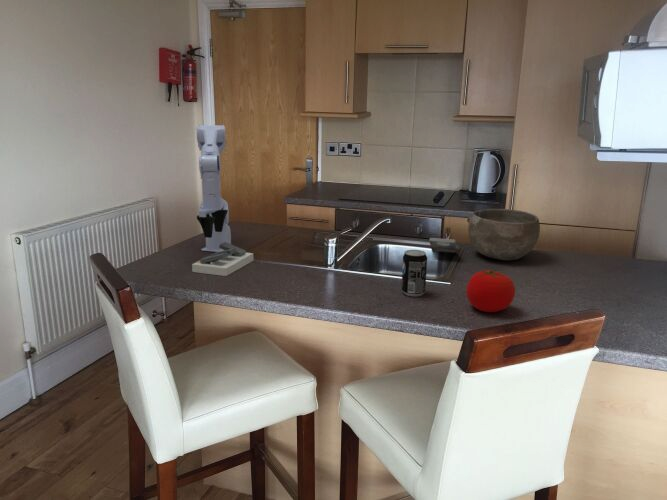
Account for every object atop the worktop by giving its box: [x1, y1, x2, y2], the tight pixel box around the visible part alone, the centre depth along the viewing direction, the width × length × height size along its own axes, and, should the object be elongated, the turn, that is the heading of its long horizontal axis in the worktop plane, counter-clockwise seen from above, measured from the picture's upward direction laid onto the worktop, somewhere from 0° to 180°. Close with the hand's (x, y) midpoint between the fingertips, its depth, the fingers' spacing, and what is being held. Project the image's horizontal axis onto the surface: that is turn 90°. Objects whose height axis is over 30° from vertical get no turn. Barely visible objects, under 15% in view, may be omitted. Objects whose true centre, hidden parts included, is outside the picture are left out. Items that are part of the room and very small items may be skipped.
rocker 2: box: [208, 248, 236, 256], centre depth 177 cm, size 4×8×1 cm, turn 71°
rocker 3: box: [219, 242, 247, 257], centre depth 182 cm, size 4×8×1 cm, turn 71°
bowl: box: [466, 208, 541, 262], centre depth 190 cm, size 24×24×15 cm
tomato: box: [465, 270, 516, 313], centre depth 142 cm, size 11×12×10 cm
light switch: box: [429, 237, 457, 254], centre depth 190 cm, size 8×6×14 cm
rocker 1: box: [199, 252, 228, 263], centre depth 172 cm, size 4×8×1 cm, turn 71°
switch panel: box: [191, 250, 254, 277], centre depth 178 cm, size 18×12×3 cm, turn 161°
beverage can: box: [401, 249, 428, 298], centre depth 153 cm, size 7×7×12 cm
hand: (213, 234), depth 179 cm, fingers open, 7 cm apart
